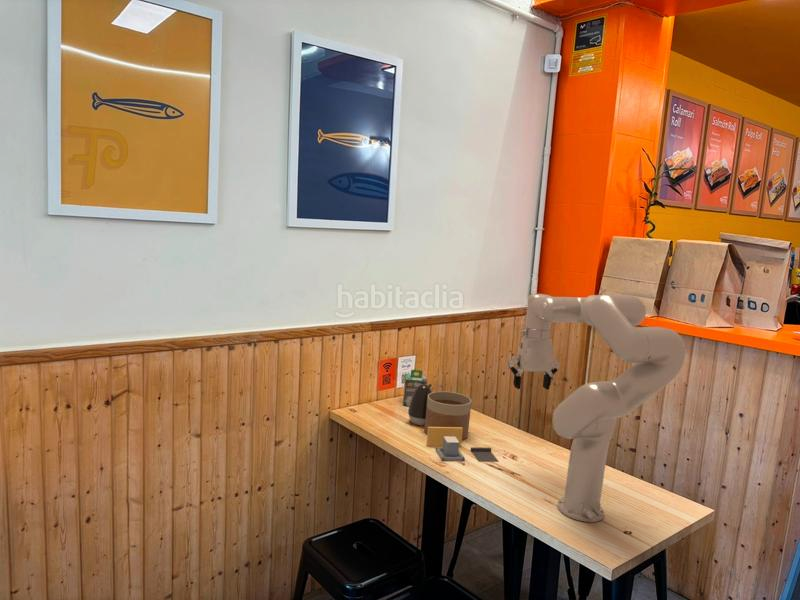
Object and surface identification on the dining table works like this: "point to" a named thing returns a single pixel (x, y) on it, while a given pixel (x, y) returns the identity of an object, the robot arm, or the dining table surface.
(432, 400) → the planter
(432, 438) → the port
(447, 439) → the plug
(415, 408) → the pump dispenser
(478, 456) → the dark grey lipped plate
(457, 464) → the dining table surface
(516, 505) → the dining table surface
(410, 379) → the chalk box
